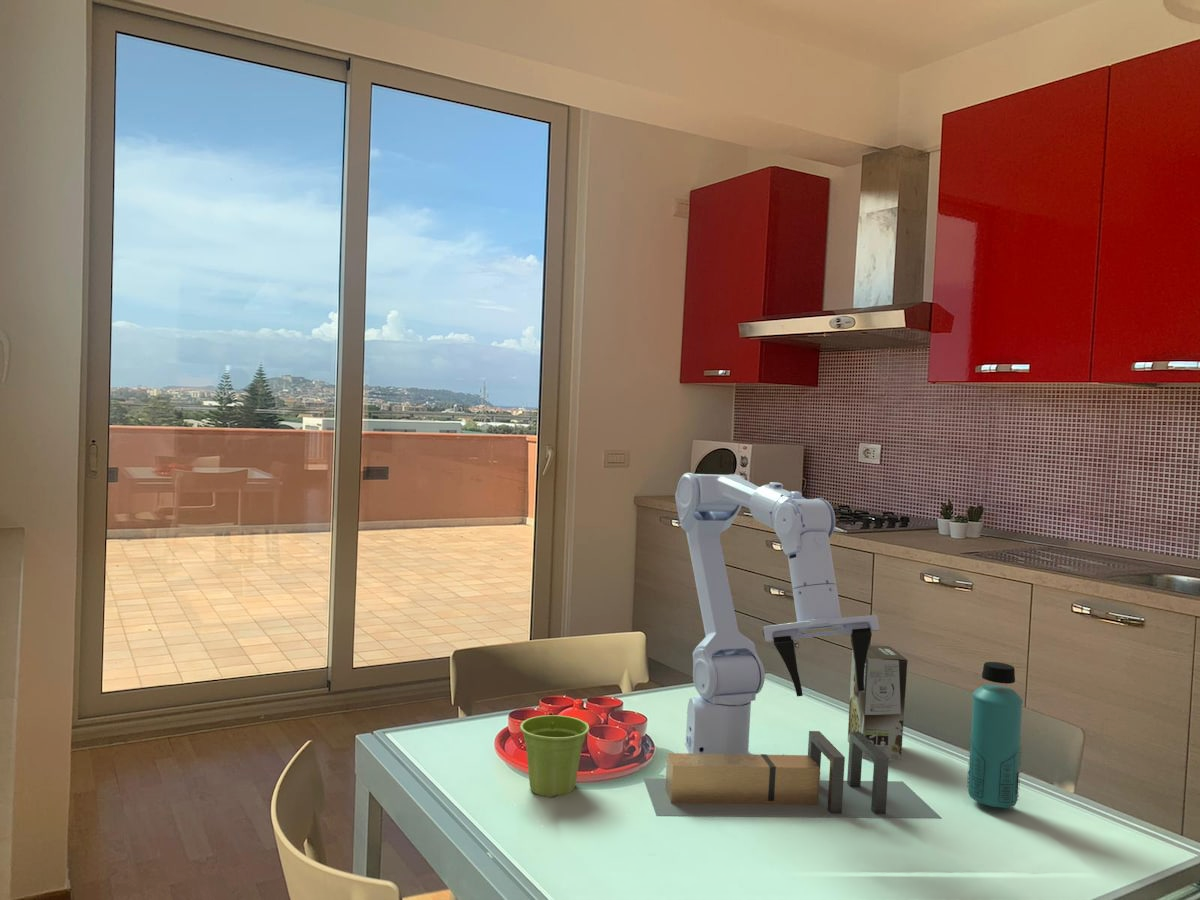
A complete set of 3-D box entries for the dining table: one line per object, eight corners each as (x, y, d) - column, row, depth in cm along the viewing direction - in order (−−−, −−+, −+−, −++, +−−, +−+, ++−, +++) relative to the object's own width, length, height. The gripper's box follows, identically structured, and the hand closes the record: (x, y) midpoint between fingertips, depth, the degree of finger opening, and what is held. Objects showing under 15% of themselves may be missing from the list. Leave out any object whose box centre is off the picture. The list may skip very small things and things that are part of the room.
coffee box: (902, 763, 138) (909, 659, 137) (861, 761, 138) (867, 657, 137) (885, 742, 147) (891, 645, 146) (845, 740, 147) (851, 643, 146)
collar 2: (874, 814, 117) (878, 757, 117) (846, 783, 127) (850, 731, 127) (885, 814, 118) (889, 757, 117) (857, 783, 127) (860, 731, 127)
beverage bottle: (1023, 822, 118) (1032, 672, 118) (970, 815, 120) (979, 667, 119) (1010, 802, 125) (1020, 660, 124) (960, 796, 126) (969, 655, 125)
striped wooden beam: (670, 803, 118) (672, 765, 117) (665, 789, 122) (667, 752, 122) (818, 804, 119) (820, 767, 119) (807, 790, 124) (809, 754, 124)
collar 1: (830, 813, 117) (833, 757, 117) (806, 783, 127) (809, 730, 127) (841, 813, 117) (844, 757, 117) (816, 783, 127) (819, 731, 127)
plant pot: (503, 792, 119) (506, 728, 119) (540, 770, 128) (543, 710, 128) (564, 809, 115) (567, 743, 115) (598, 785, 123) (601, 723, 123)
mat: (656, 818, 114) (656, 815, 114) (643, 780, 126) (643, 778, 126) (941, 821, 117) (942, 818, 117) (902, 784, 129) (902, 781, 129)
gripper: (757, 590, 115) (771, 698, 112) (872, 577, 113) (891, 688, 109) (760, 595, 122) (774, 698, 118) (869, 583, 119) (887, 688, 115)
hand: (830, 693), depth 114 cm, fingers open, 7 cm apart
